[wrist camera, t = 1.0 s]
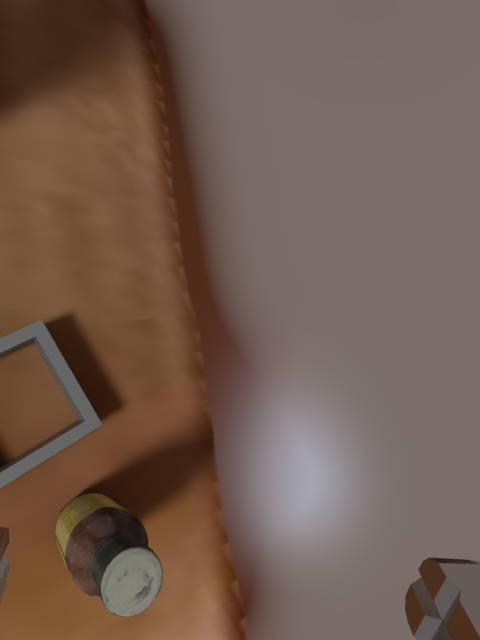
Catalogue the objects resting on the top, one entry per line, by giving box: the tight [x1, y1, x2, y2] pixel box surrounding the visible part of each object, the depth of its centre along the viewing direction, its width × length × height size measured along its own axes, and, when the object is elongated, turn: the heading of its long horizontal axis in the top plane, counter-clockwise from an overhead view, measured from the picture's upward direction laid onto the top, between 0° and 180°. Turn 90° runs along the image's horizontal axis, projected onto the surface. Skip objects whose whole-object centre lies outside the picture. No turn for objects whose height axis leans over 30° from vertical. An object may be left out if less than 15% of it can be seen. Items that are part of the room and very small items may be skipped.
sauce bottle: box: [56, 493, 163, 617], centre depth 36 cm, size 7×6×20 cm
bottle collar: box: [0, 320, 102, 488], centre depth 42 cm, size 12×13×4 cm
